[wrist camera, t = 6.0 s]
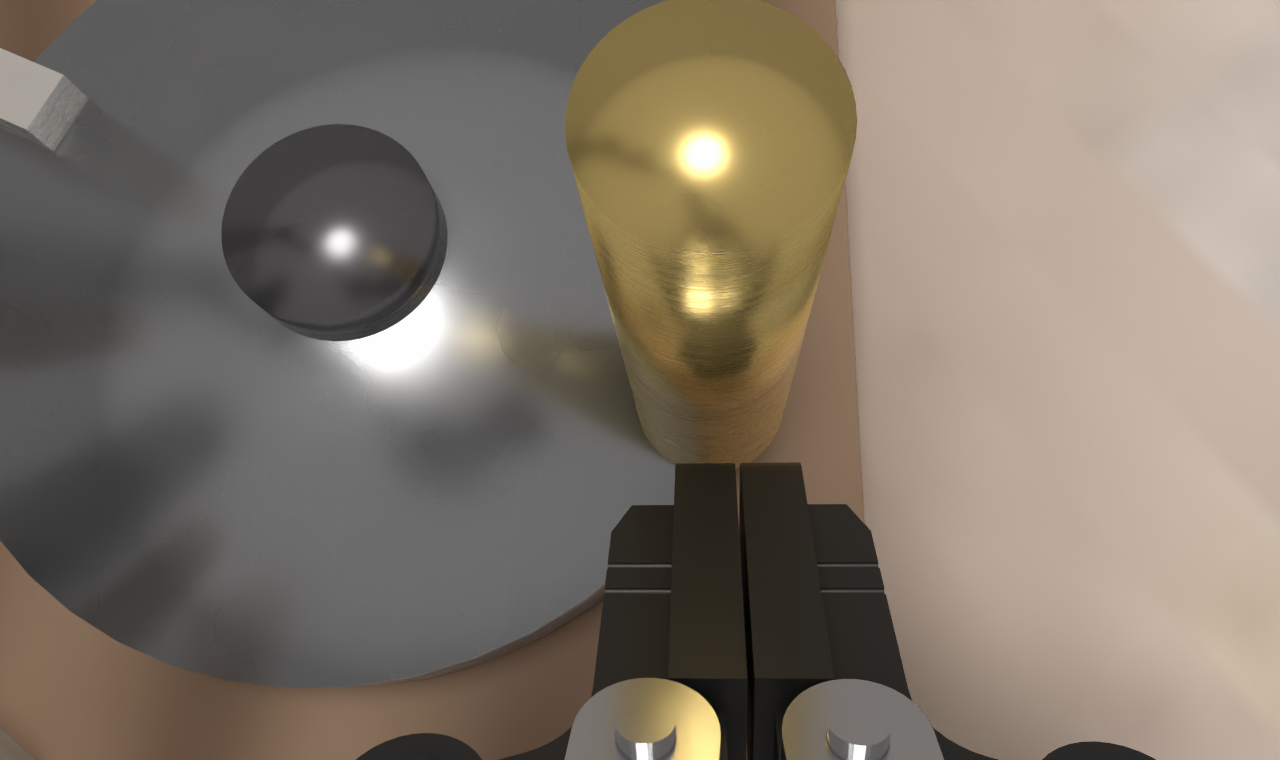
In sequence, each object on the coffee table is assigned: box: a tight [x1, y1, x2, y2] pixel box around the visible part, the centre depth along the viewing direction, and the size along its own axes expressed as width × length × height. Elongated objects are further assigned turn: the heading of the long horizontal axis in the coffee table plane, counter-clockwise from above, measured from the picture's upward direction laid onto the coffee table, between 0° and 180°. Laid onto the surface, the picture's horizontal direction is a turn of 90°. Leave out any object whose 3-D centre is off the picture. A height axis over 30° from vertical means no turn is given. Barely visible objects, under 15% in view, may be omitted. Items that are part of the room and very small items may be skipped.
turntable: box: [0, 0, 864, 760], centre depth 20 cm, size 22×20×5 cm
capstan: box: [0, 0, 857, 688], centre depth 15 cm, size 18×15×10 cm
